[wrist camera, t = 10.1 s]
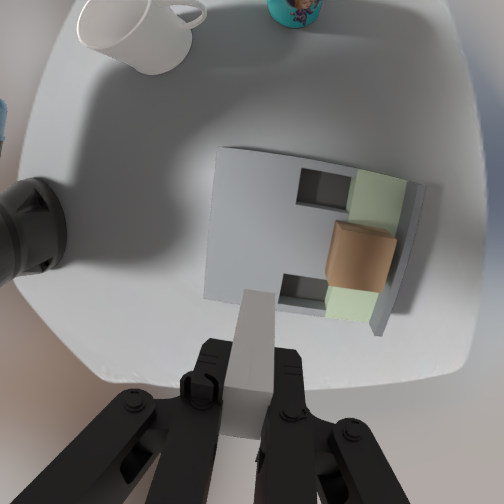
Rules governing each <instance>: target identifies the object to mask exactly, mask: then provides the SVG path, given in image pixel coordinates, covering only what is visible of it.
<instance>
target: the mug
mask: <svg viewBox="0 0 504 504" xmlns="http://www.w3.org/2000/svg"><path fill="white" fill-rule="evenodd" d="M170 5H188V6H193V7H196V8H198V9H200V10H201V11H202V14H201V15H200V16H199V17H198V18H197V19H195V20H193V21H191V22H188V23H186V22H185V21H184V20H182V19H181V18H179V17H178V16H177V15H176V14H175V13H174V11H173V10H172V9H171V8H170V7H169V6H170ZM206 17H207V9H206V7H205V6H204V5H203V4H202V3H201V2H199V1H196V0H89V1H88V2H87V3H86V5H85V6H84V8H83V10H82V11H81V14H80V16H79V19H78V23H77V35H78V38H79V40H80V42H81V43H82V44H83V45H84V46H86V47H87V48H90V49H92V50H95V51H97V52H100V53H102V54H104V55H107V56H109V57H112V58H114V59H116V60H119V61H121V62H123V63H125V64H128V65H130V66H132V67H133V68H134V69H136V70H137V71H138V72H140V73H143V74H147V75H158V74H162V73H165V72H167V71H170V70H171V69H173V68H175V67H176V66H177V65H178V64H180V63H181V62H182V61H183V59H184V58H185V57H186V55H187V54H188V52H189V50H190V47H191V44H192V32H191V29H192V28H194V27H196V26H198V25H200V24H201V23H202V22H203V21H204V20H205V19H206Z"/></svg>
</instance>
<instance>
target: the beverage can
mask: <svg viewBox="0 0 504 504" xmlns="http://www.w3.org/2000/svg"><path fill="white" fill-rule="evenodd" d="M267 3H268V10H269V13H270V15H271V16H272V17H273V18H274V19H275V20H276V21H277V22H279V23H280V24H282V25H284V26H286V27H290V28H300V27H304V26H307V25H309V24H311V23H312V22H313V21H315V20H316V18H317V17H318V15H319V12H320V8H321V4H322V0H267Z"/></svg>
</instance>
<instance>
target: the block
mask: <svg viewBox="0 0 504 504" xmlns="http://www.w3.org/2000/svg"><path fill="white" fill-rule="evenodd" d="M396 243H397V239H396V238H395V237H394V236H392V235H391V234H390V233H389V232H388V231H387V230H385V229H381V228H376V227H371V226H366V225H360V224H355V223H349V222H344V221H338V220H335V224H334V229H333V234H332V238H331V243H330V248H329V252H328V257H327V261H326V266H325V270H324V271H325V275H326V278H327V281H328V284H329V286H333V287H340V288H347V289H354V290H361V291H369V292H376V293H382V291H383V288H384V285H385V282H386V278H387V275H388V272H389V268H390V265H391V261H392V258H393V254H394V251H395V247H396Z"/></svg>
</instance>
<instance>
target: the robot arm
mask: <svg viewBox="0 0 504 504" xmlns="http://www.w3.org/2000/svg"><path fill="white" fill-rule="evenodd" d="M6 117H7V105H6V103H5V101H4V100H3V99H1V98H0V156H1V150H2V144H3V141H4V139H5V137H4V130H5V123H6ZM65 245H66V224H65V219H64V214H63V211H62V208H61V205H60V203H59V201H58V199H57V197H56V195H55V194H54V192H53V191H52V190H51V189H50V188H49V187H48V186H47V185H46V184H45V183H44V182H42V181H40V180H38V179H34V178H29V179H24V180H20V181H17V182H15V183H14V184H12V185H11V186H10V187H8V188H7V189H6V190H5V191H3V192H2V193H1V194H0V287H1V286H3V285H4V284H6V283H7V282H9V281H10V280H12V279H13V278H15V277H18V276H26V275H34V274H40V273H43V272H46V271H48V270H49V269H51V268H52V267H54V266H55V265H56V264H57V263H58V262H59V261H60V260H61V258H62V256H63V253H64V250H65ZM274 338H275V293H270V292H263V291H257V290H250V289H244V292H243V297H242V302H241V306H240V311H239V316H238V321H237V325H236V330H235V335H234V340H233V342H231V341H224V340H219V339H213V338H209V339H208V340H207V341H206V342H205V343H204V344H203V345H202V347H201V350H200V353H199V356H198V359H197V362H196V365H195V368H194V371H190V372H188V373H186V374H184V375H183V376H182V378H181V379H180V396H178V397H175V398H171V399H153V397H152V395H151V394H149V393H148V392H146V391H144V390H141V389H128V390H124V391H122V392H121V393H119V394H118V395H117V396H116V397H115V398H114V399H113V400H112V401H111V402H110V403H109V404H108V405H107V406H106V407H105V408H104V409H103V410H102V411H101V412H100V413H99V414H98V415H97V416H96V417H95V418H94V419H93V420H92V421H91V422H90V423H89V424H88V426H87V427H86V428H85V429H84V430H83V431H82V432H81V433H80V434H79V435H78V436H77V437H76V438H75V439H74V440H73V441H72V442H71V443H70V444H69V445H68V446H67V447H66V448H65V449H64V450H63V451H62V452H61V453H60V454H59V455H58V456H57V457H56V458H55V459H54V460H53V461H52V462H51V463H50V464H49V465H48V466H47V467H46V468H45V469H44V470H43V471H42V472H41V473H40V474H39V475H38V476H37V477H36V478H35V479H34V480H33V481H32V482H31V483H30V484H29V485H28V486H27V487H26V488H25V489H24V490H23V491H22V492H21V493H20V494H19V495H18V496H17V497H16V498H15V499H14V500H13V501H12V502H11V503H10V504H123V502H124V501H125V500H126V498H127V497H128V496H129V494H130V493H131V492H132V490H133V489H134V487H135V486H136V485H137V484H138V482H139V481H140V479H141V478H142V477H143V475H144V474H145V473H146V471H147V470H148V468H149V467H150V466H151V464H152V463H153V462H154V460H155V459H156V457H157V456H158V455H159V453H161V456H160V459H159V462H158V465H157V468H156V471H155V474H154V477H153V480H152V483H151V487H150V489H149V492H148V496H147V498H146V502H145V504H206V502H207V497H208V491H209V486H210V481H211V476H212V471H213V465H214V460H215V455H216V449H217V442H218V436H219V434H221V435H227V436H233V437H240V438H247V439H255V440H260V437H261V443H260V448H259V451H258V454H257V457H256V460H255V462H257V471H256V482H255V494H254V504H317V492H318V495H319V498H320V501H321V503H322V504H410V502H409V500H408V498H407V497H406V495H405V493H404V491H403V489H402V487H401V485H400V483H399V482H398V480H397V478H396V476H395V474H394V472H393V470H392V468H391V467H390V465H389V463H388V461H387V459H386V457H385V456H384V454H383V452H382V450H381V448H380V446H379V444H378V443H377V441H376V439H375V437H374V435H373V433H372V432H371V430H370V428H369V427H368V426H367V425H366V424H365V423H364V422H362V421H361V420H358V419H355V418H345V419H342V420H339V421H338V422H337V423H336V424H334V423H330V422H327V421H324V420H321V419H319V418H317V417H315V416H314V415H312V414H311V413H310V410H309V409H308V408H307V407H306V403H305V393H304V381H303V370H302V359H301V357H300V355H299V354H298V352H297V351H296V350H294V349H285V348H277V347H274Z"/></svg>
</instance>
